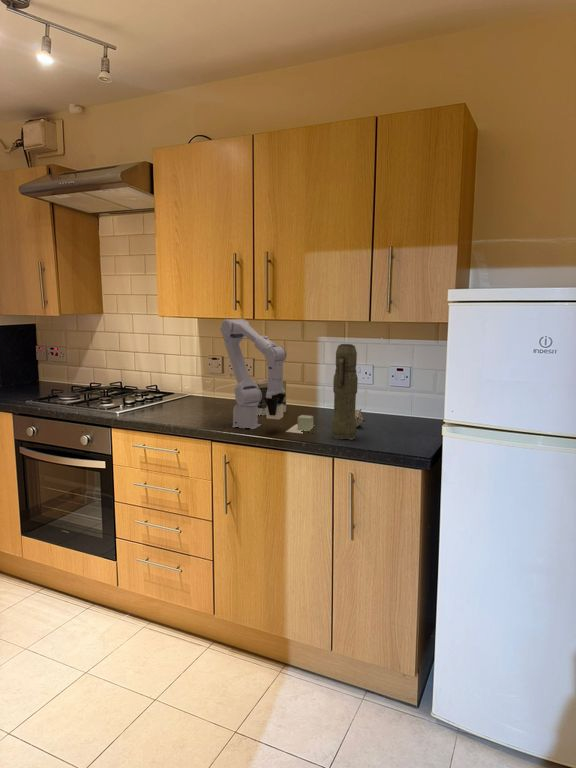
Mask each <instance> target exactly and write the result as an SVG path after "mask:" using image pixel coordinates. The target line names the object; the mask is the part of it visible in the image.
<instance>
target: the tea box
mask: <svg viewBox="0 0 576 768" xmlns="http://www.w3.org/2000/svg"><path fill="white" fill-rule="evenodd" d="M253 381H254V382H255V383H256V384H257V386H258V388H259V389H260V390H261V393H262V399H261V401H260V402H259V405H258V415H259V416H258V417H261V416H260V415H262V416H267V403H266V401H265V400H264V397H265V396H266V393H267V390H268V378H267V379H259V380H253ZM286 385H287V382H286V380H283V387H284V390H286V392H285V393H282V394H286V396H285V398H284V400H283V402H282V404H283V413H287V389H286V387H287V386H286Z"/></svg>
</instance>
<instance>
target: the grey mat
mask: <svg viewBox="0 0 576 768" xmlns="http://www.w3.org/2000/svg"><path fill="white" fill-rule="evenodd" d="M301 431H303V430H298V423H296V424H294V425H293V426H291V427H290V428H289V429H287V430H286V431H285V433H291V434H292V433H294V434H303V432H301Z"/></svg>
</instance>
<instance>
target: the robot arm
mask: <svg viewBox="0 0 576 768" xmlns="http://www.w3.org/2000/svg"><path fill="white" fill-rule="evenodd" d="M220 333H221V335H222V338H223V341H224V345H225V349H226V352H227V356H228V358H229V361H230V364H231V368H232V370H233V373H234V376H235V380H236V382H237V384H236V386H235V388H234V390H233V391H234V397H235V402H236V403H235V405H234V406H233V410H232V428H235V427H239V428H238V429H245V428H250V429H249V430H254V429H257V428H258V427H260V426H261V425H262V424H261V423H258V417H259V416H258V405H259V402H260V401H261V399H262V393H261V390H260V389H259V388H258V386H257V384H256V383H255V382H254V381H255V380H252V378H251V376H250V374H249V373H250V372H249V370H248V367H247V365H246V362H245V358H244V355H243V353H242V348H241V346H240V343H241V341H243V339H244V338H245V337H246V338H247V339H248V340H250V341H251V342H252V343H254V347H255V349H257V350H258V351H259V352H260V353H261V354H262V355H263V356H264V359H265V361H266V366H267V379H268V390H267V393H266V396H265V397H264V400H265V401H266V403H267V406H268V411H269V415H273V416H275V414H276V408H277V404H282V402H283V400H284V398H285V396H286V397H287V389H286V390H284V387H283V381H284V361H285V360H286V359H287V350H286V349H285V347H284V346H282V345H279V346H278V345H277V344H276V343H275V342H273V341H272V340H271V339H269V337H268V335H260V334H259V333H258V332H257V331H256V330H255V329H254V328H253V327H252V326H250V322H249V321H247V320H246V319H245V318H240V319H237V318H235V319H233V318H232V319H228V318H226V319H224V320H222V323H221V326H220ZM285 392H286V394H282V393H285Z"/></svg>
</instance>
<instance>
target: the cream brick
mask: <svg viewBox="0 0 576 768" xmlns="http://www.w3.org/2000/svg"><path fill="white" fill-rule="evenodd" d="M283 417H284V412H283V404H277V408H276V414H275V416H273V415H269V411H268V406H267V415H266V419H270V420H280V419H282V418H283Z"/></svg>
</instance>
